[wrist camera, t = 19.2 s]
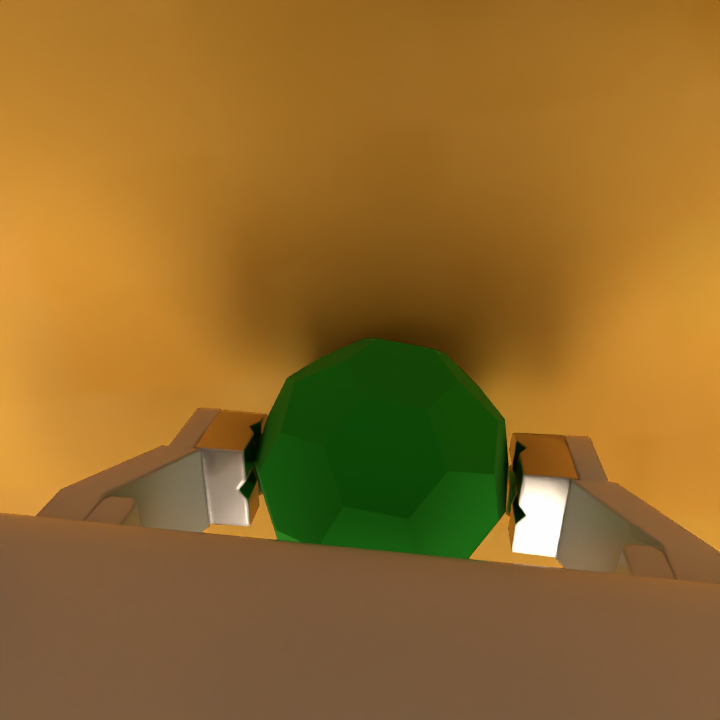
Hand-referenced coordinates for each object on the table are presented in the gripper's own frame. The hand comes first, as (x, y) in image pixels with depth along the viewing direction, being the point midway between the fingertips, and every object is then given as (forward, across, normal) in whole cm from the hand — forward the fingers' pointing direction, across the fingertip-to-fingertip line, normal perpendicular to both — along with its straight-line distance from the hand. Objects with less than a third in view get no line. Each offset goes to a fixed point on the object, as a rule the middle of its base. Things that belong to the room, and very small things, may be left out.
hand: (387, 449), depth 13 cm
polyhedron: (+2, 0, 0) cm, 2 cm away
